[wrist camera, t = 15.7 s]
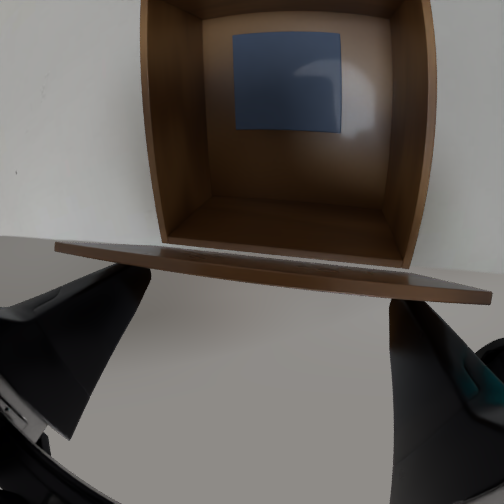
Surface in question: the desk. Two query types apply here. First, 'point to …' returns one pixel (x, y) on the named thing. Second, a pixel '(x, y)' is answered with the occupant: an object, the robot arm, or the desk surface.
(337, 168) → the carton
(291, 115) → the block
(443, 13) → the desk surface
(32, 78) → the desk surface
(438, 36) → the desk surface
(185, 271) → the flap
